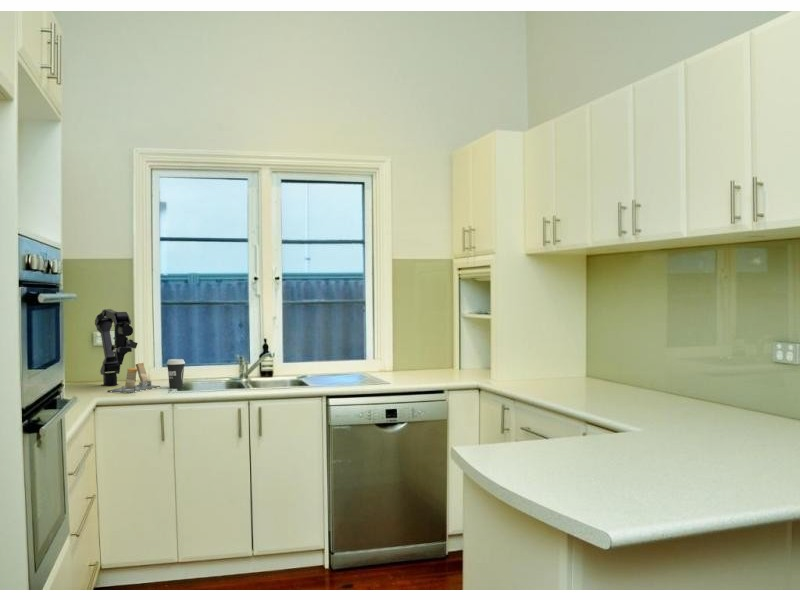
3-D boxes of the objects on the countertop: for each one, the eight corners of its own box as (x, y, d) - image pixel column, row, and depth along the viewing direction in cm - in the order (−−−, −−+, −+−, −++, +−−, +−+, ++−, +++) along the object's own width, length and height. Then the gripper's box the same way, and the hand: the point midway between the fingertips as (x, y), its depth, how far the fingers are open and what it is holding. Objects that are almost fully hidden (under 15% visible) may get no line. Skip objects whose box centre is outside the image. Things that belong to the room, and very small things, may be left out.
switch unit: (107, 392, 341) (107, 385, 341) (139, 386, 362) (139, 380, 362) (129, 393, 336) (129, 387, 336) (160, 387, 357) (160, 381, 357)
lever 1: (124, 386, 339) (127, 368, 335) (133, 385, 342) (136, 368, 338) (125, 388, 338) (128, 370, 334) (134, 387, 340) (137, 369, 337)
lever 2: (140, 383, 355) (135, 364, 356) (146, 382, 359) (140, 363, 360) (143, 382, 354) (137, 363, 355) (148, 381, 358) (143, 362, 359)
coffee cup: (170, 386, 360) (169, 358, 360) (187, 386, 360) (187, 358, 360) (163, 389, 351) (163, 360, 351) (182, 389, 351) (181, 360, 351)
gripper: (141, 335, 352) (141, 365, 352) (130, 334, 367) (130, 362, 367) (119, 336, 345) (119, 366, 345) (109, 334, 360) (109, 363, 360)
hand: (120, 364), depth 355 cm, fingers closed
